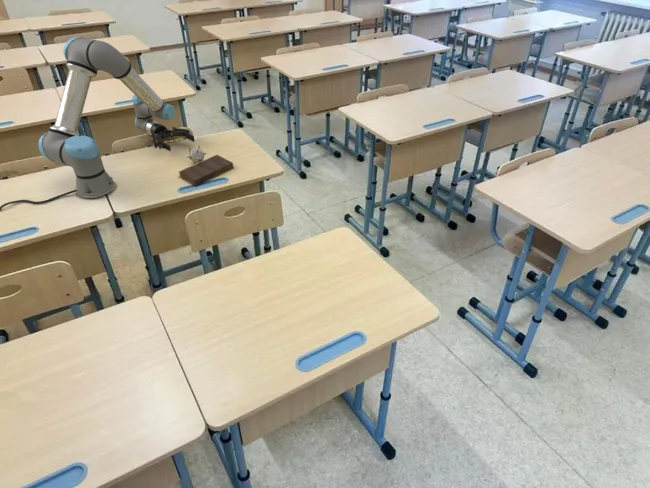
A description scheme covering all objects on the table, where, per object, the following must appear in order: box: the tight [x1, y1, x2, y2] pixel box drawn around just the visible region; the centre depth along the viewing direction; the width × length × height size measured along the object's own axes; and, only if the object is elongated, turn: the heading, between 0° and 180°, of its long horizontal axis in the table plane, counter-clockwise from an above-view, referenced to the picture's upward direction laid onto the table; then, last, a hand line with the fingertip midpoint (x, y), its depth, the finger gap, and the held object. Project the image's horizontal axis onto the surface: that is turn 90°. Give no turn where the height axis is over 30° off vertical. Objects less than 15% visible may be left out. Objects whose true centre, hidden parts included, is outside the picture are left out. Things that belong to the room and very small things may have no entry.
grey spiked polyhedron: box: [186, 145, 207, 165], centre depth 217 cm, size 9×8×10 cm
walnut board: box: [178, 154, 234, 187], centre depth 212 cm, size 22×12×3 cm, turn 139°
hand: (181, 143), depth 219 cm, fingers open, 13 cm apart
